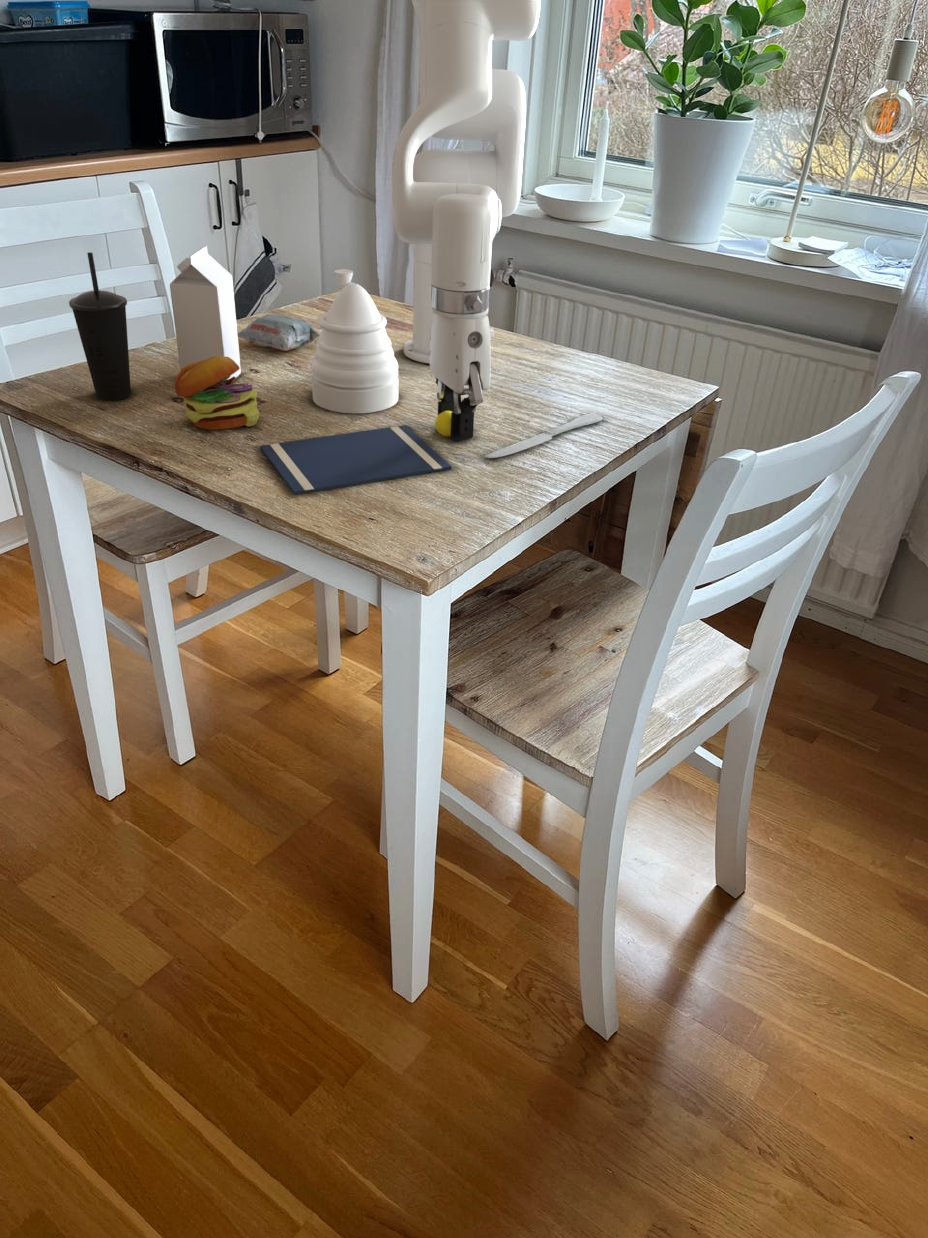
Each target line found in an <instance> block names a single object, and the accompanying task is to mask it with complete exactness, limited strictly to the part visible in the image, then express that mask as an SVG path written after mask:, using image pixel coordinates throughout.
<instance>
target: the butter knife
mask: <svg viewBox="0 0 928 1238" xmlns="http://www.w3.org/2000/svg"><path fill="white" fill-rule="evenodd" d="M602 420H603V417H602V415H601V414H599V413H595V412H587V413H585V414H583V415H580V416H578V417H575V418H574V419H573V420H570V421H568V422H567V423H564V424H562V425H560V426H557V427H553V428H551V429H548V430H546V431H545V432H542V433H540V434H537V435H535V436H532V437H529V438H525V439H524V440H521V441H518V442H515V443H512V444H510V445H507V446H504V447H502V448H500V449H497V450H495V451H493V452H490V453H488V454H486V455H483V457H484V458H488V459H495V458H500V457H501V458H502V457H505V456H508V455H512V454H515V453H518V452H521V451H524V450H528V449H530V448H533V447H535V446H539V445H541V444H543V443H545V442H549V441H551V440H552V439H553V437H554V436H556V435H559V434H562V433H564V432H569V431H570V430H573V429H577V428H581V427H584V426H588V425H589V426H590V425H592V424H595V423H598V422H601V421H602Z"/></svg>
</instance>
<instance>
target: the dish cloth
mask: <svg viewBox="0 0 928 1238" xmlns="http://www.w3.org/2000/svg"><path fill="white" fill-rule="evenodd" d="M259 449H260V450H261V452H262V453H263V454H264V456H265V457H266V458H267V460H268V462H270V463H271V465H272V466H273V468H274V469H275V471H276V472H277V473H278V474H279V476H280V477H281V479H282V480H283V481H284V483H285V484H286V485H287V487H288V488H289V490H291V492H292V493H293V495H294V496H295V495H302V494H306V493H313V492H319V491H325V490H331V489H338V488H345V487H350V486H355V485H362V484H368V483H374V482H380V481H386V480H391V479H392V480H393V479H398V478H404V477H405V478H406V477H411V476H417V475H423V474H429V473H434V472H441V471H448V470H452V465H450V463H449V462H448V461H446V460H445V459H444V458H443V457H442V456H441V455H440V454H439V453H437V451H435V449H433V448H432V447H431V446H429V444H427V443H426V442H425V441H424V440H423V439H422V438H421V437H420V436H419V435H418V434H417V433H415V432H414V431H413V430H412V429H411V428H410V427H408V426H407V424H404V425H396V426H389V427H381V428H375V429H369V430H361V431H353V432H347V433H340V434H333V435H327V436H319V437H312V438H306V439H299V440H292V441H285V442H277V443H270V444H264V445H259Z"/></svg>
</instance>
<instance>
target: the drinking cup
mask: <svg viewBox="0 0 928 1238" xmlns="http://www.w3.org/2000/svg"><path fill="white" fill-rule="evenodd" d="M94 259H95V258H94V253H93V252H90V251H89V252H87V260H88V264H89V270H90V272H89V273H90V277H91V283H92V289H93V290H89V291H85V292H82V293H81V294H78V295H77V296H75V297H72V298H71V299H69V301H68V306H69V308H70V309H71V310H72V313H73V317H74V320H75V323H76V327H77V331H78V334H79V338H80V342H81V345H82V349H83V352H84V356H85V359H86V363H87V366H88V370H89V375H90V377H91V380H92V384H93V388H94V392H95V395H96V397H97V399H98V400H101V401H108V402H110V401H111V402H112V401H115V402H116V401H121V400H125V399H127V398H129V397H131V395H132V387H131V385H132V384H131V370H130V355H129V340H128V323H127V322H128V321H127V308H126V307H127V305H128V299H127V297H125V296H122V295H120V294H116V293H114V292H111V291H107V290H100V289H99V284H98V283H99V282H98V276H97V272H96V271H97V270H96V266H95V260H94Z"/></svg>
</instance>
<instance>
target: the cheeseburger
mask: <svg viewBox="0 0 928 1238" xmlns="http://www.w3.org/2000/svg"><path fill="white" fill-rule="evenodd" d="M239 369H240V368H239V366H238V365H237V364H236V363H235V362H234V361H233V360H232V359H231V358H229V357H223V356H213V357H211V358H209V359H207V360H203V361H199V362H195V363H192V364H189V365H187V366H185V367H183V368H182V369H181V370H179V372H178V373H177V374H176V375H177V376H176V379H175V382H174V390H175V393H176V394H175V395H176V396H177V397H178V398H183V404H184V405H185V409H184V410H185V413H184V414H185V415H186V416H187V418H188V419H189V420H190V421H191V422H192V424H193V425H195V426H196V427H197V428H199V429H202V430H210V431H213V430H214V431H216V430H225V429H233V428H234V429H235V428H238V427H244V426H246V427H253V426H255V425H256V424H257V423H258V421H259V418H260V411H259V408H258V400H257V397H258V393H257V390H256V389H255V388H254V387H253V386H252V384H249V383H236V382H237V381H238V380H239V378H240V375H238V377H236V378H235V377H232V378H230V379H228V378H229V377H230V376H231V375H232V374H234V373H235V372H237V371H238V370H239ZM226 379H228V380H226Z"/></svg>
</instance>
